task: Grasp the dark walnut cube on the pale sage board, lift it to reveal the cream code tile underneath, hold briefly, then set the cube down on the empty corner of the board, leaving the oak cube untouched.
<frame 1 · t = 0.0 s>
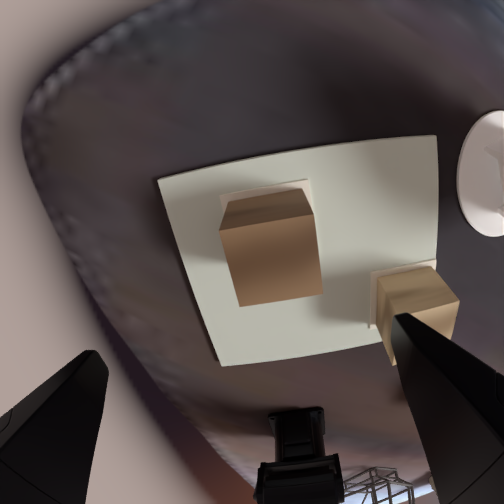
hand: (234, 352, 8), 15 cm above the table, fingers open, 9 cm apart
walnut block: (271, 229, 22), point 1 cm above the table, touching code board
geometric lantern: (366, 475, 44), on the table
code board: (318, 265, 24), on the table
white rounded piece: (502, 177, 20), on the table
oak block: (403, 296, 24), point 1 cm above the table, touching code board
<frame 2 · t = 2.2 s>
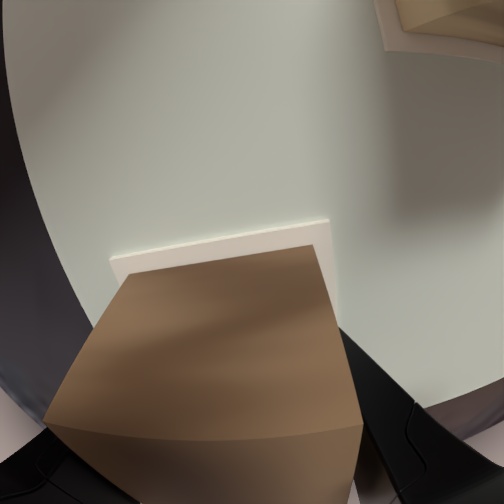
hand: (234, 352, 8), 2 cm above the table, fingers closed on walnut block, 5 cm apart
walnut block: (235, 333, 9), point 1 cm above the table, touching code board, gripper
code board: (359, 205, 8), on the table
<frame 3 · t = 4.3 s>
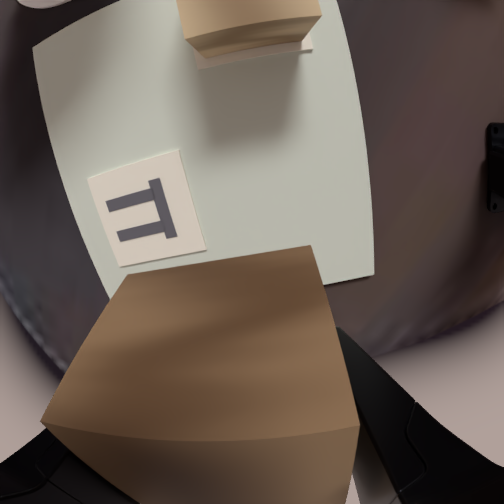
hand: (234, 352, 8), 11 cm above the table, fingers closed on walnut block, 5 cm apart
walnut block: (234, 334, 9), point 10 cm above the table, touching gripper
code board: (198, 143, 16), on the table
oak block: (243, 7, 12), point 1 cm above the table, touching code board
when the fingers open (3 cm above the table, at t = 6.5 s): walnut block drops 1 cm, resting on code board.
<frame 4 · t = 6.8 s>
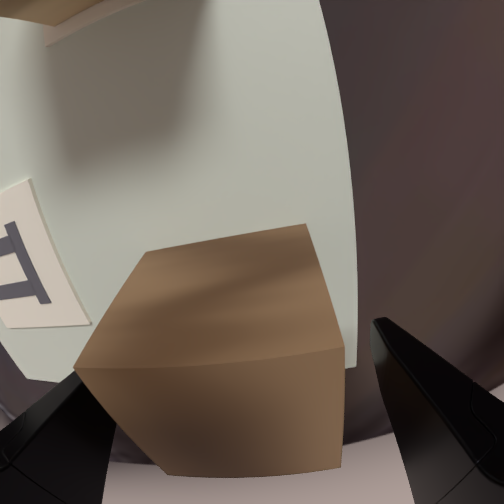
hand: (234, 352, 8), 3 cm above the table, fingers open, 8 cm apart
walnut block: (239, 305, 10), point 1 cm above the table, touching code board
code board: (59, 164, 9), on the table
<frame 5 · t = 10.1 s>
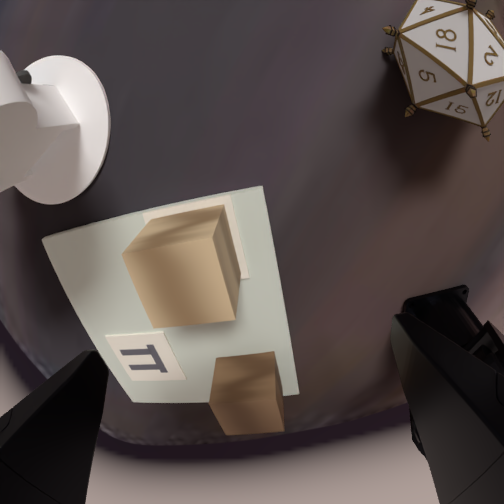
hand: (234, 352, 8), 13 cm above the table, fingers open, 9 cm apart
walnut block: (250, 373, 26), point 1 cm above the table, touching code board
code board: (176, 325, 25), on the table
white rounded piece: (50, 127, 18), on the table
oak block: (196, 246, 20), point 1 cm above the table, touching code board
game die: (421, 63, 15), on the table
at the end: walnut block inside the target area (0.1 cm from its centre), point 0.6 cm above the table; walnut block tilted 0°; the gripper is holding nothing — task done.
